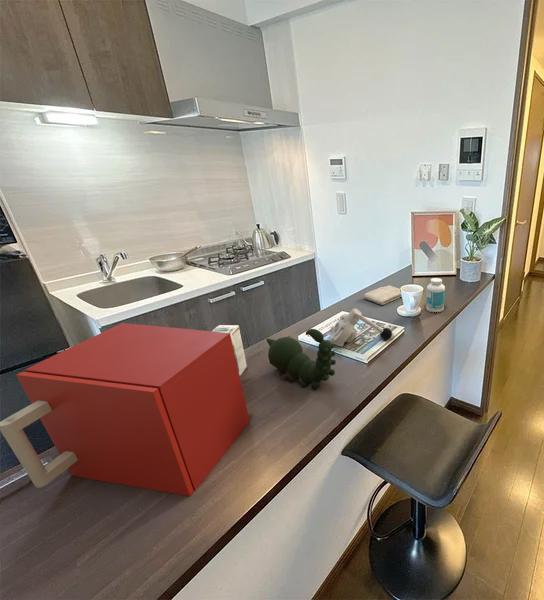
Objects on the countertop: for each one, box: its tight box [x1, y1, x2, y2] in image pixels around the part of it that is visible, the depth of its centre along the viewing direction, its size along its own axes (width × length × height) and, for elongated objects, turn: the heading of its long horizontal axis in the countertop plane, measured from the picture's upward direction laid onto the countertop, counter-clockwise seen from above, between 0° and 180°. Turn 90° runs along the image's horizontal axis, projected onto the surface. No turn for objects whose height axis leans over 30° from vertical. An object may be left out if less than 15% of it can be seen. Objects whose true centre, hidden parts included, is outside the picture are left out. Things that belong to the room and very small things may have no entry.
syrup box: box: [212, 324, 248, 376], centre depth 94 cm, size 6×6×14 cm
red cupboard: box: [24, 322, 251, 491], centre depth 67 cm, size 18×26×24 cm
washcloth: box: [363, 284, 402, 306], centre depth 150 cm, size 12×18×3 cm, turn 140°
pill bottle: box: [426, 277, 446, 314], centre depth 136 cm, size 8×7×14 cm
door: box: [0, 371, 195, 497], centre depth 55 cm, size 7×26×24 cm, turn 81°
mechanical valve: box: [329, 307, 393, 348], centre depth 113 cm, size 10×18×15 cm
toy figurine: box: [265, 328, 337, 389], centre depth 91 cm, size 9×19×25 cm
